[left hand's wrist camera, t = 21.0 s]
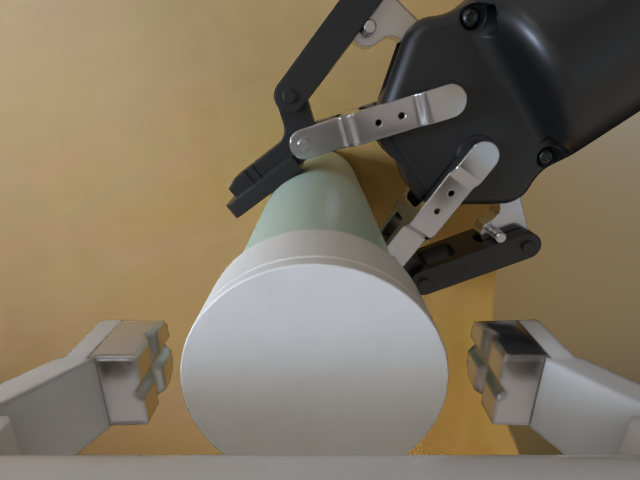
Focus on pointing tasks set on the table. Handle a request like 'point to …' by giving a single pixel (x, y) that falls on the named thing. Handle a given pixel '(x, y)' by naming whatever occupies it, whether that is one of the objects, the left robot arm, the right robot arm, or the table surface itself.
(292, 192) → the jar
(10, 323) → the table surface
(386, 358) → the lid
